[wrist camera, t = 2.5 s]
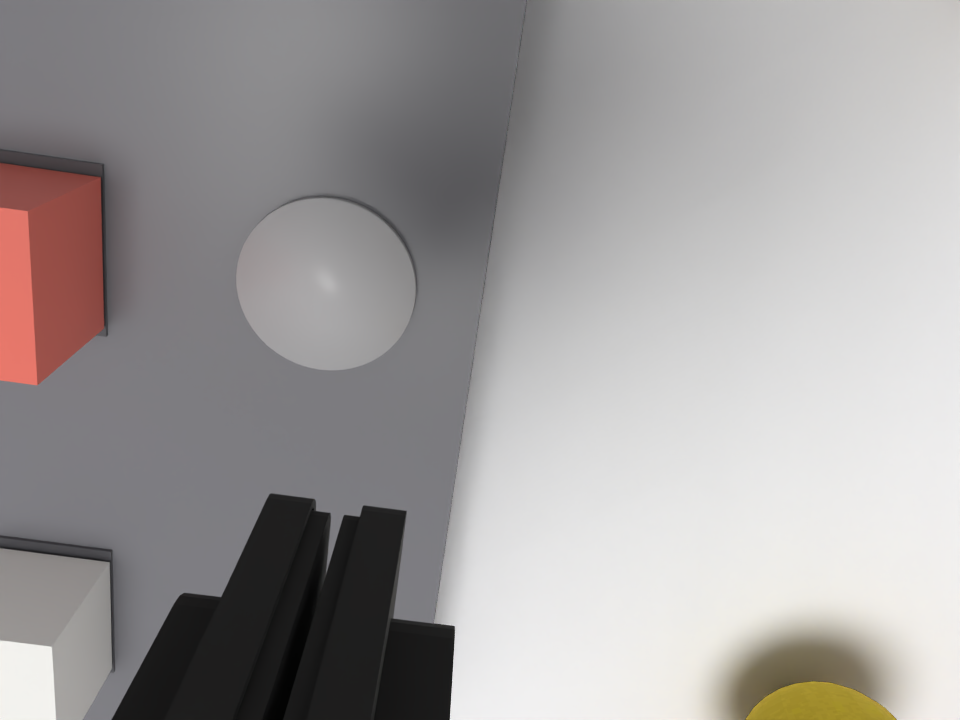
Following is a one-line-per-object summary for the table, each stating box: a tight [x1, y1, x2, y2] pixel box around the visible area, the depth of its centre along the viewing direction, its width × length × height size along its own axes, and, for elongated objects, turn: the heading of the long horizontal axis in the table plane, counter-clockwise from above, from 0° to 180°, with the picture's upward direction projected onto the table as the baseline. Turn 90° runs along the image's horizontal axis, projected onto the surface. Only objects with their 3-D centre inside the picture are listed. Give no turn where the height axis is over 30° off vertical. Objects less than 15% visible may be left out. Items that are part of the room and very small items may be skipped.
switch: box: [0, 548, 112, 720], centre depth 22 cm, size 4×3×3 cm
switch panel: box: [0, 0, 527, 720], centre depth 21 cm, size 30×16×4 cm, turn 172°
